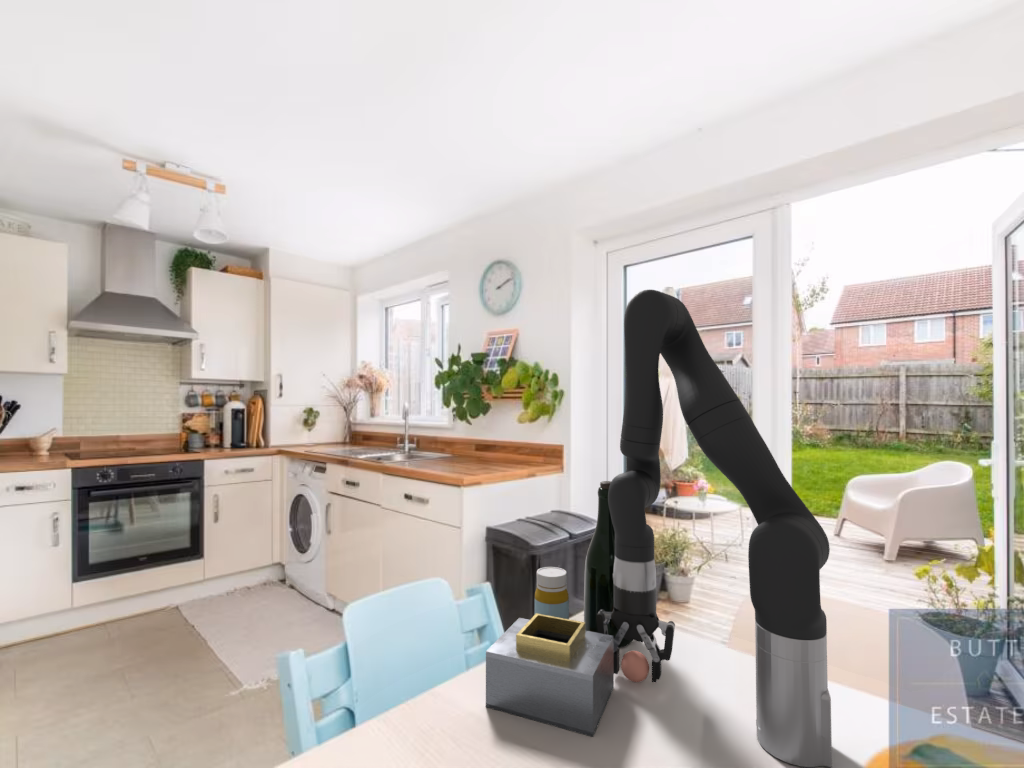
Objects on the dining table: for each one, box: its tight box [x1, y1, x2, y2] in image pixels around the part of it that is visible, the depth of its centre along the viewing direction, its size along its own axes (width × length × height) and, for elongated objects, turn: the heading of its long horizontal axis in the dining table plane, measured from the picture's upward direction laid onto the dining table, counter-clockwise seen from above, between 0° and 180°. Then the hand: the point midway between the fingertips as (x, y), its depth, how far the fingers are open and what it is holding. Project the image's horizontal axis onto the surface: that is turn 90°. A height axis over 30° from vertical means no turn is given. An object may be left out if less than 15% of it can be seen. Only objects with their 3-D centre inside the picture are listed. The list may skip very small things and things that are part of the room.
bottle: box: [534, 566, 570, 619], centre depth 103 cm, size 7×7×15 cm
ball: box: [620, 650, 650, 683], centre depth 90 cm, size 5×5×5 cm
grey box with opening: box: [485, 613, 615, 738], centre depth 85 cm, size 18×14×12 cm
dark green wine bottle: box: [583, 480, 634, 649], centre depth 107 cm, size 10×10×33 cm
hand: (635, 675), depth 90 cm, fingers open, 6 cm apart
